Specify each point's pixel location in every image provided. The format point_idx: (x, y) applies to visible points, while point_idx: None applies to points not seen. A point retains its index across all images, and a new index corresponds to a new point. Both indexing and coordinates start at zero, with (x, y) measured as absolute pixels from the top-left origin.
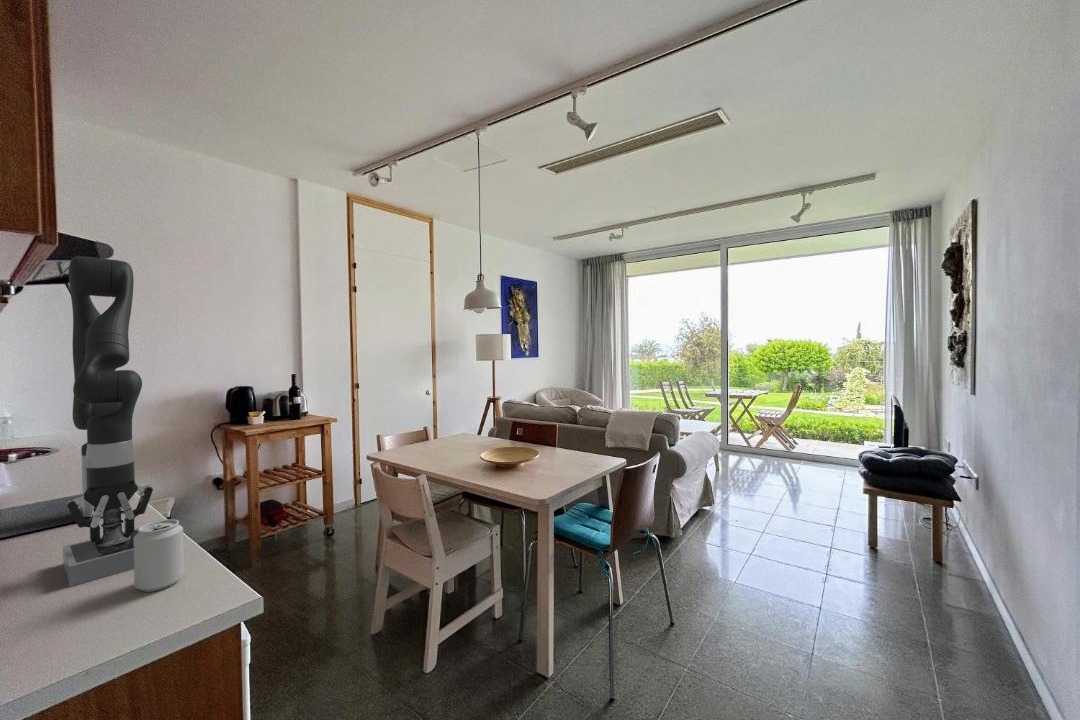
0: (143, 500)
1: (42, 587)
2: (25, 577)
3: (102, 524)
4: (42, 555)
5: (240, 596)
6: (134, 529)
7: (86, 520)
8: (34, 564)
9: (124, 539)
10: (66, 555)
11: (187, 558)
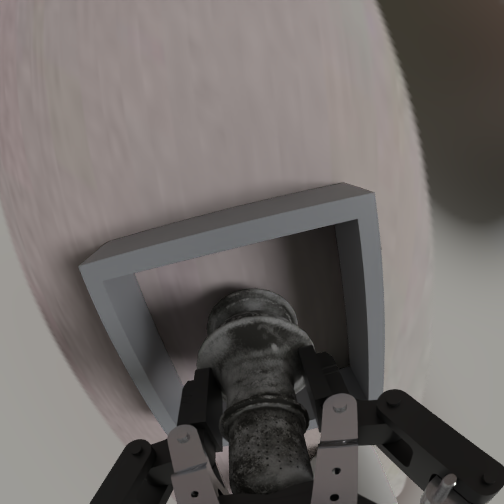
0: (419, 478)
1: (124, 381)
2: (53, 288)
3: (226, 435)
4: (36, 107)
5: (396, 491)
6: (324, 211)
7: (168, 477)
8: (35, 186)
9: (296, 387)
10: (132, 376)
11: (403, 383)
